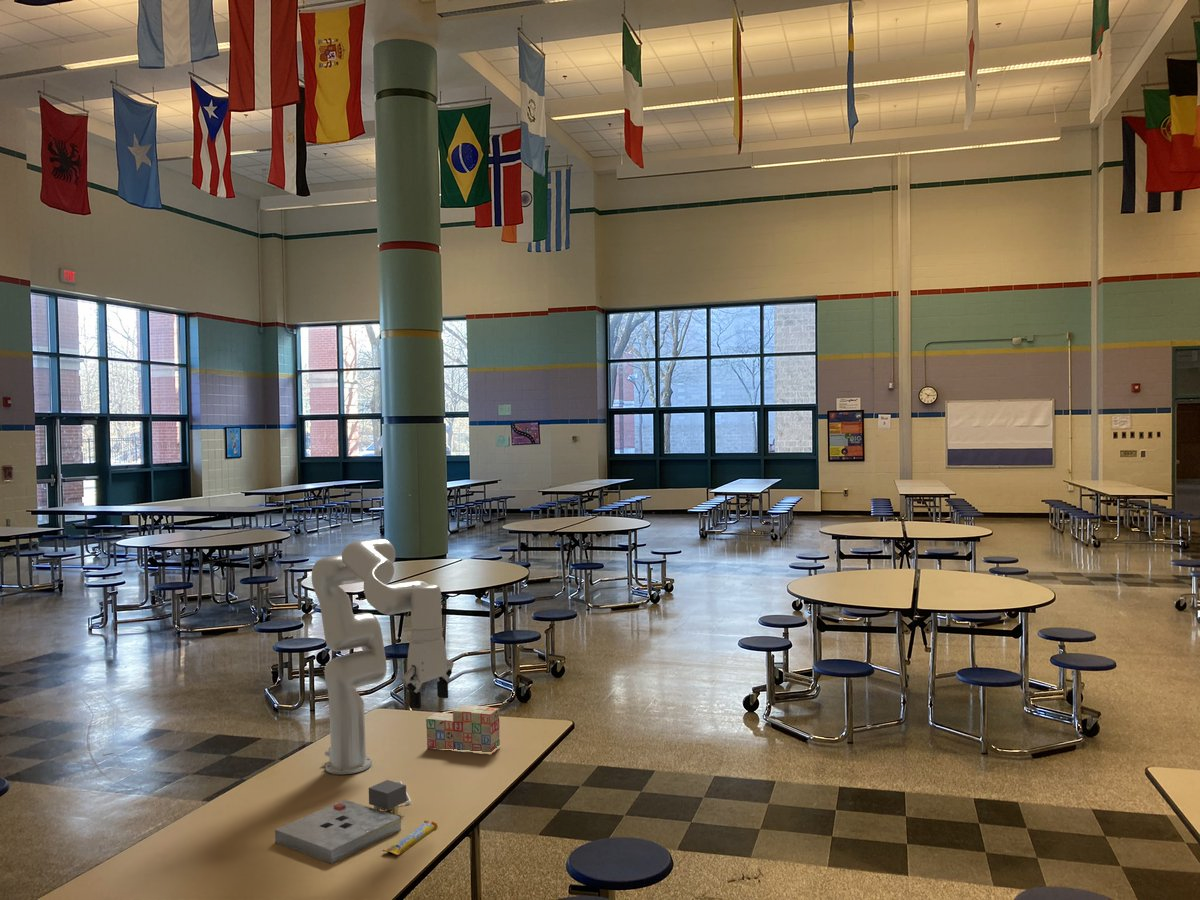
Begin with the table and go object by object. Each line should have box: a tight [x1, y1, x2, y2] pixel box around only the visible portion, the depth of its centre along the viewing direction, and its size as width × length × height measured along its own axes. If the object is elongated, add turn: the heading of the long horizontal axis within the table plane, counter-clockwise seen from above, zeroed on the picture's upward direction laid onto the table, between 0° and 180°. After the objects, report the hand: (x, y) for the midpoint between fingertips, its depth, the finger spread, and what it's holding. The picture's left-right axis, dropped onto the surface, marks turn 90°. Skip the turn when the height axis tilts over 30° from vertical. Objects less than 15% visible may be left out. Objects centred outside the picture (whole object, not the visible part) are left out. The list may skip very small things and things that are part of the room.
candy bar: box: [382, 820, 439, 856], centre depth 204 cm, size 17×4×2 cm, turn 156°
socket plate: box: [274, 799, 402, 865], centre depth 208 cm, size 20×20×4 cm
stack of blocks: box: [425, 704, 501, 752], centre depth 265 cm, size 21×6×12 cm, turn 71°
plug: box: [368, 779, 407, 816], centre depth 221 cm, size 9×6×7 cm, turn 55°
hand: (429, 702), depth 223 cm, fingers open, 9 cm apart
